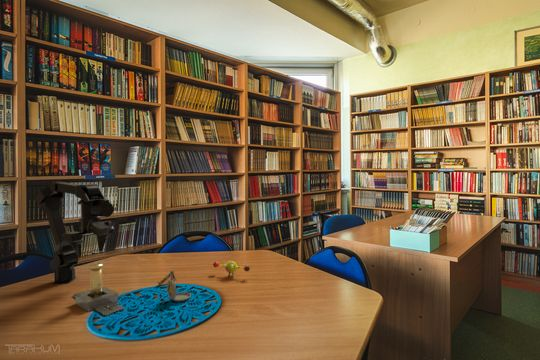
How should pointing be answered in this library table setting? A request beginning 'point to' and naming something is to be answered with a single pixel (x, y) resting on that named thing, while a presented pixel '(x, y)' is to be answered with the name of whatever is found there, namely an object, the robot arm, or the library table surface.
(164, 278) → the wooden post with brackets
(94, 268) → the pin
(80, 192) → the robot arm
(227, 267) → the toy figure
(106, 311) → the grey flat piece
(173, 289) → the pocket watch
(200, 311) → the library table surface
